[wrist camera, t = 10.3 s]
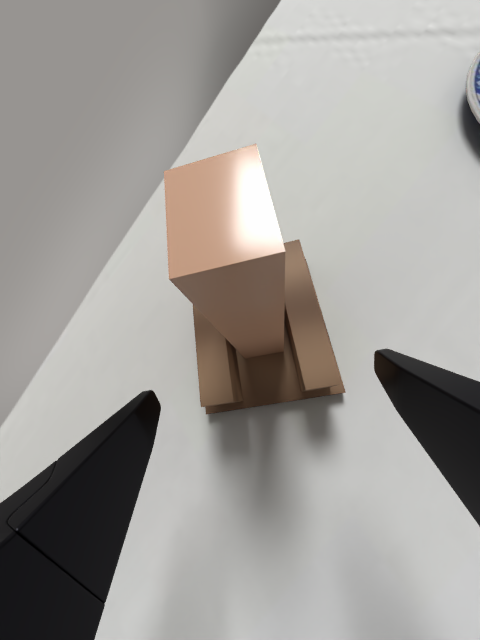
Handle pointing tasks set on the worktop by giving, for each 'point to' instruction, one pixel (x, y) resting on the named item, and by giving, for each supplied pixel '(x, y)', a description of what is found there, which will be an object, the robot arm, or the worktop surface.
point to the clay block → (228, 248)
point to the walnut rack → (273, 369)
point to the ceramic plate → (474, 87)
